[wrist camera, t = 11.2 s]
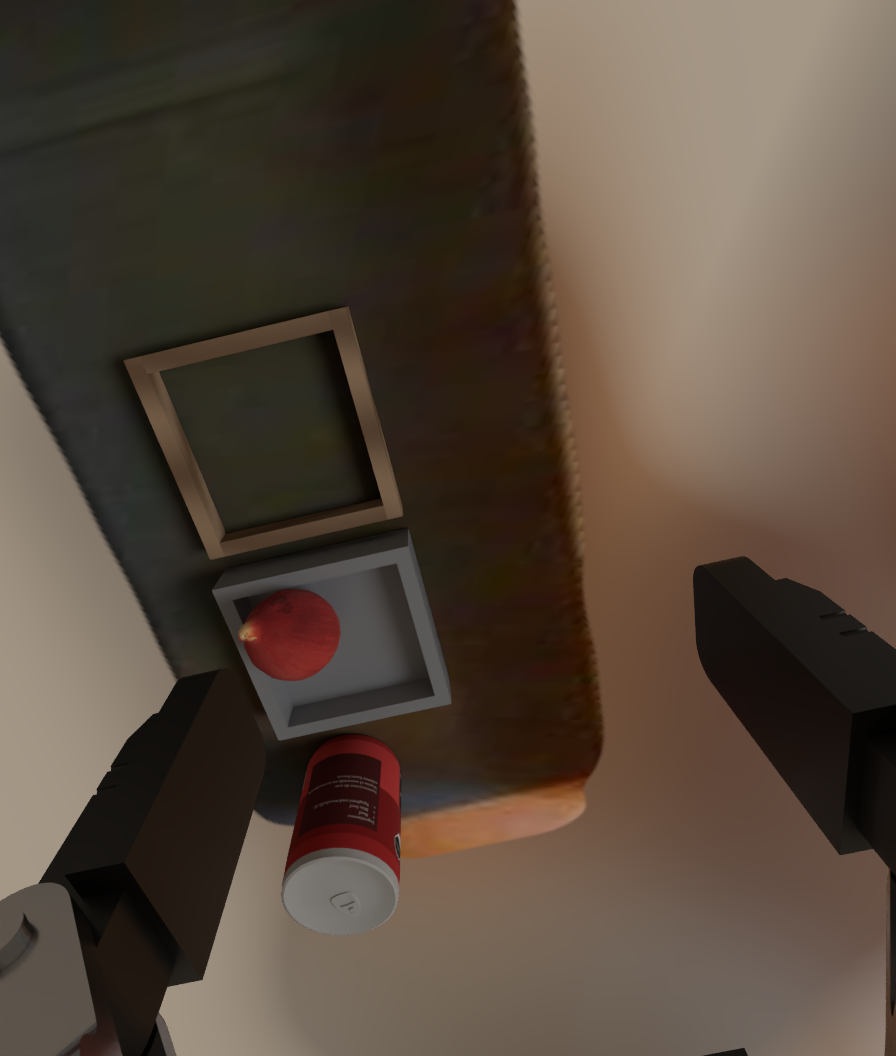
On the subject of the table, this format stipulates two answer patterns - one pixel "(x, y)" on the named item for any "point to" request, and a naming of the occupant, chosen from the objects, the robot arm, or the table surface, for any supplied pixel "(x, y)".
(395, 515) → the square frame
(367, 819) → the canned food
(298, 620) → the onion
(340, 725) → the bin
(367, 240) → the table surface
